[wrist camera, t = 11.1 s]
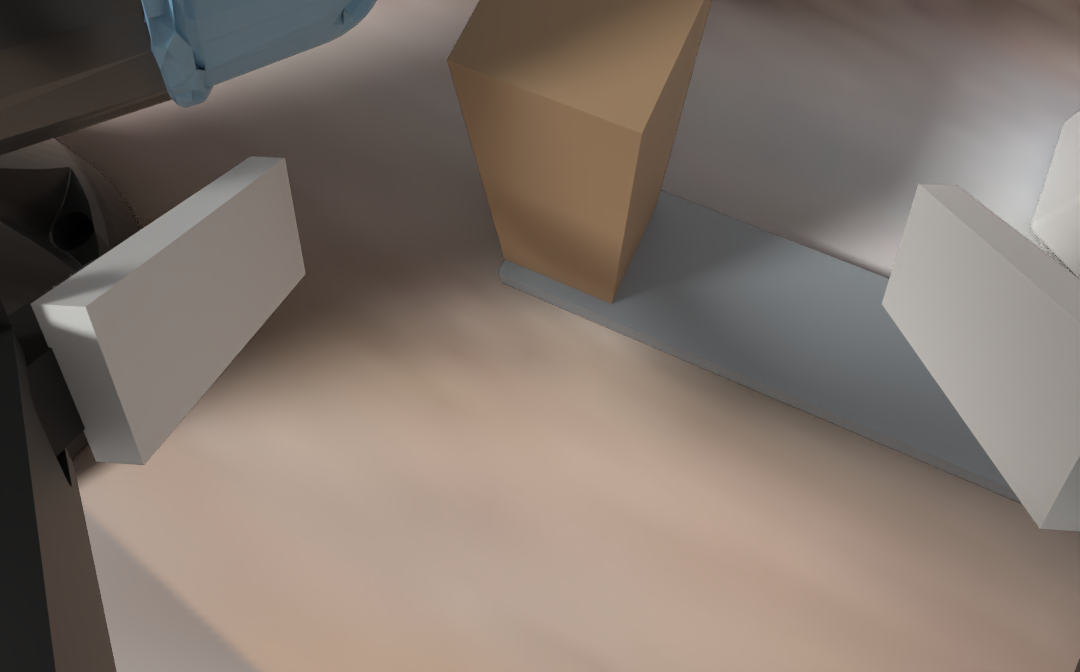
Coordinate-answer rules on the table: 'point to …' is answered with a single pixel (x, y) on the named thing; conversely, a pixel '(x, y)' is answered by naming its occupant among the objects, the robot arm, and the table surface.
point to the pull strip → (675, 225)
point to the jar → (1062, 199)
